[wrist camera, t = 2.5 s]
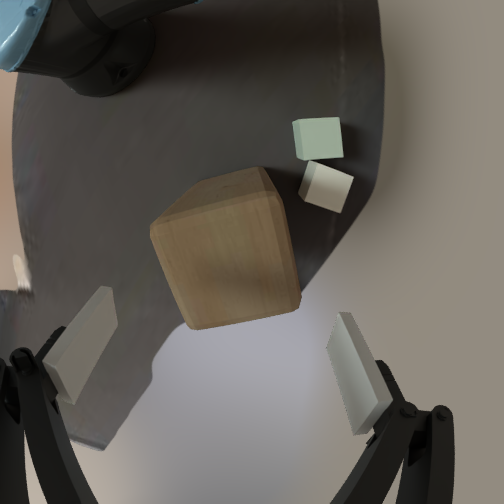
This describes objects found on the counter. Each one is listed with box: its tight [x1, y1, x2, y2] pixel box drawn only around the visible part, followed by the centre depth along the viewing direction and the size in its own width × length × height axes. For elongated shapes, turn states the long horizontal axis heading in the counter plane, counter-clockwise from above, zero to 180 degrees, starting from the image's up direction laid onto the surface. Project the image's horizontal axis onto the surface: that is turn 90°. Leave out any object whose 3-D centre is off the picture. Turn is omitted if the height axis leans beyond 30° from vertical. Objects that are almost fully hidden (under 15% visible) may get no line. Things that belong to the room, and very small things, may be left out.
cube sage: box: [292, 117, 343, 160], centre depth 32 cm, size 5×5×5 cm
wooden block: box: [150, 166, 302, 330], centre depth 29 cm, size 10×10×20 cm
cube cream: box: [298, 160, 354, 213], centre depth 35 cm, size 5×5×5 cm
